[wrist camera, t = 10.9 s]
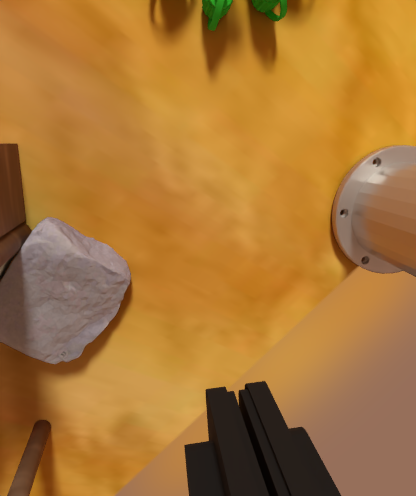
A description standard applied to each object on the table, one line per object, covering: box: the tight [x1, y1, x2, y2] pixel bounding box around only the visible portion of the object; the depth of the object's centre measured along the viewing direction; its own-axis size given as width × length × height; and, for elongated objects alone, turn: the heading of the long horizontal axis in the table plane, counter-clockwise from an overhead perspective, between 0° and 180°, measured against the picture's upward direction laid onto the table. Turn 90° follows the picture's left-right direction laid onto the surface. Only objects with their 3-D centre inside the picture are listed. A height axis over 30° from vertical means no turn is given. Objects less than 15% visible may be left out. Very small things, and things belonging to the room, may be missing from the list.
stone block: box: [0, 217, 131, 364], centre depth 35 cm, size 12×5×10 cm
